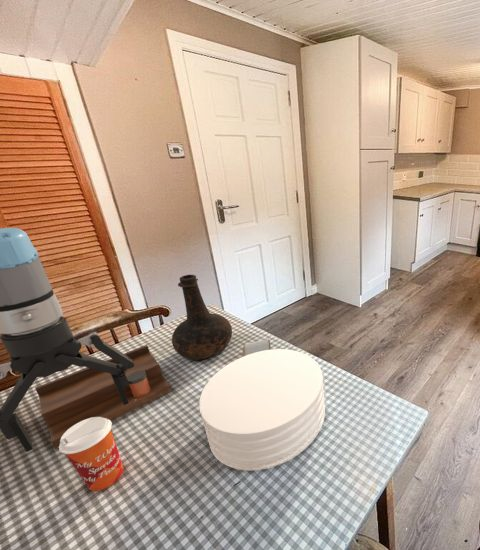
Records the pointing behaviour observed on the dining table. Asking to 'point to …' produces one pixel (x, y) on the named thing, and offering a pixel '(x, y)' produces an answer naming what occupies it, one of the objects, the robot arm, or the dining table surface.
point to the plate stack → (263, 408)
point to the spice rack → (96, 394)
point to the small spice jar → (138, 383)
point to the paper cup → (93, 452)
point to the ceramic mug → (256, 347)
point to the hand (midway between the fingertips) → (81, 421)
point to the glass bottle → (199, 326)
